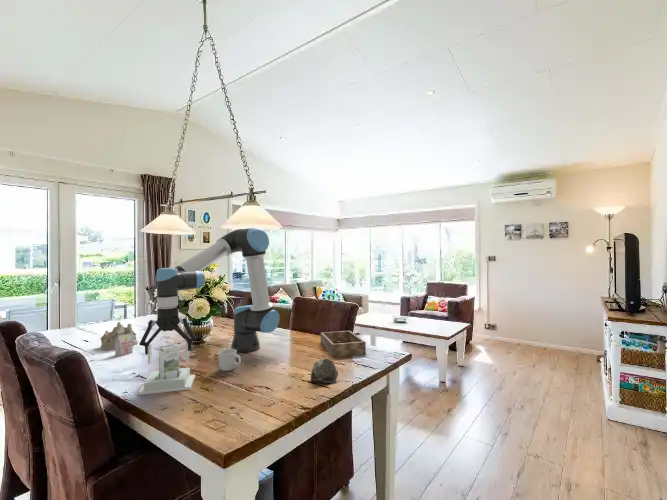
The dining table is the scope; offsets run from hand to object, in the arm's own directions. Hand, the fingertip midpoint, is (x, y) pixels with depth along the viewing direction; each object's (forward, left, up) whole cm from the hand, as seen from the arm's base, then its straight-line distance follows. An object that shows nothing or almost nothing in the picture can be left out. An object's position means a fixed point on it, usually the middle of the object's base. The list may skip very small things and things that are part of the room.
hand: (169, 360), depth 138 cm
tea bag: (+31, -53, -10) cm, 62 cm away
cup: (-23, -12, -10) cm, 27 cm away
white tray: (0, 0, -9) cm, 10 cm away
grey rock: (+39, -71, -10) cm, 82 cm away
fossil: (-60, +13, -10) cm, 62 cm away
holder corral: (-80, -30, -9) cm, 86 cm away
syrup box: (0, 0, -9) cm, 9 cm away
